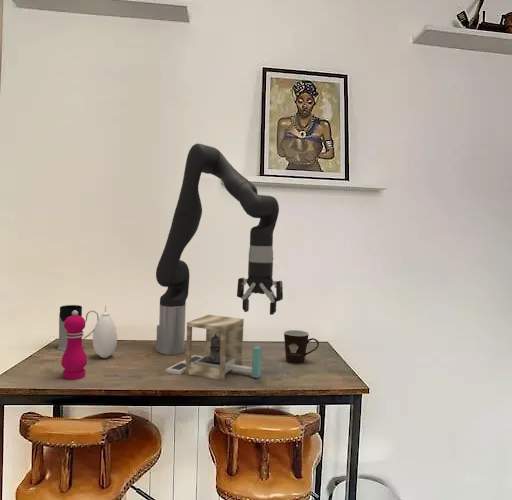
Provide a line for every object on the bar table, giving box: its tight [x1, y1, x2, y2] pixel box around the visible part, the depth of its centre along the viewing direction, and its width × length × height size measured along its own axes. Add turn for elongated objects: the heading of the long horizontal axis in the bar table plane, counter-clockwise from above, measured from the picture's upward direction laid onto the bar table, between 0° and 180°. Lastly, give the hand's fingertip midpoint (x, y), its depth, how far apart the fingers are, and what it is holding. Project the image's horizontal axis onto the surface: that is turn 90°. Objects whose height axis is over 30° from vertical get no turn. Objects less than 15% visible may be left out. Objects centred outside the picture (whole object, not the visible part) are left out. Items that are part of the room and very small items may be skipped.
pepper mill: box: [60, 310, 88, 380], centre depth 145 cm, size 7×7×20 cm
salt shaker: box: [206, 334, 220, 365], centre depth 156 cm, size 6×6×12 cm
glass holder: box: [57, 304, 100, 352], centre depth 176 cm, size 9×14×15 cm, turn 94°
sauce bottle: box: [92, 305, 118, 359], centre depth 165 cm, size 8×8×18 cm
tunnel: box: [185, 314, 245, 381], centre depth 155 cm, size 13×14×16 cm
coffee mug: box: [283, 329, 320, 365], centre depth 168 cm, size 12×9×10 cm
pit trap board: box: [165, 354, 204, 376], centre depth 160 cm, size 5×18×1 cm, turn 158°
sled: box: [193, 345, 263, 378], centre depth 154 cm, size 20×10×9 cm, turn 68°
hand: (259, 312), depth 149 cm, fingers open, 8 cm apart
